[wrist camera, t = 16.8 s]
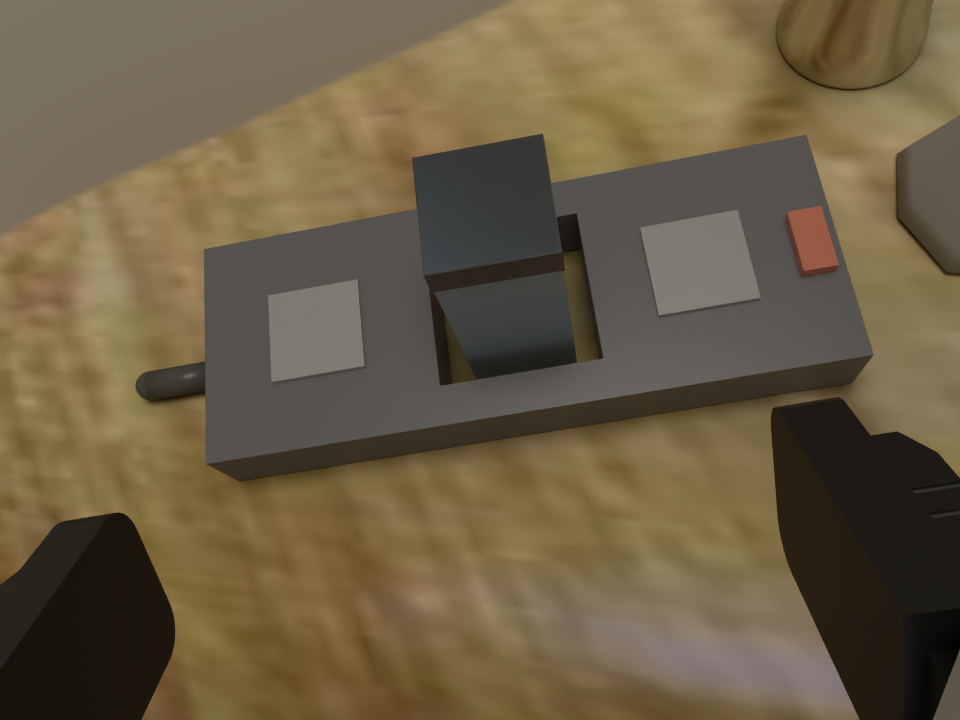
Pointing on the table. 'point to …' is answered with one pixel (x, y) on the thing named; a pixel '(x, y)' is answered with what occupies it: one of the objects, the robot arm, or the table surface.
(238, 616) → the table surface
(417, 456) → the table surface
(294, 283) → the power strip
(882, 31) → the beer glass
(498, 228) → the plug
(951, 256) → the flask
